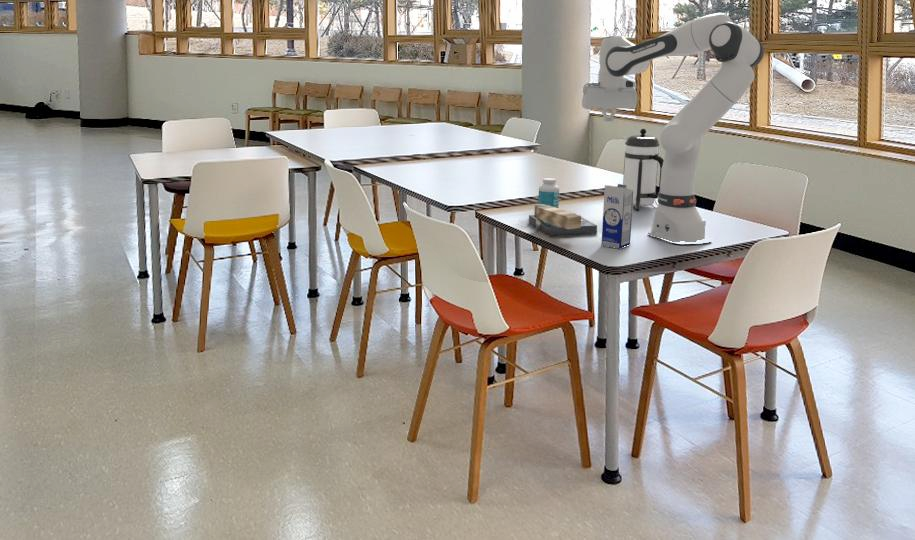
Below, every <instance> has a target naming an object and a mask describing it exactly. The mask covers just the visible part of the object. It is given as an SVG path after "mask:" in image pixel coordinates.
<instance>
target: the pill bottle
mask: <svg viewBox="0 0 915 540" xmlns="http://www.w3.org/2000/svg"><path fill="white" fill-rule="evenodd" d="M556 183H557V179H556V178H552V177H544V178H542V184H540V185H539V186H538V204H544V205H548V206H552V207H555V208H558V209H559V206H560V205H559V204H560V203H559V202H560V187H559V185H557V184H556Z"/></svg>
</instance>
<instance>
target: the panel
mask: <svg viewBox="0 0 915 540" xmlns="http://www.w3.org/2000/svg"><path fill="white" fill-rule="evenodd" d="M573 213H574V214H576V213H575V212H573ZM528 224H529V225H530V226H532V227H534V228H535V231H538V232H541V233H543V234H544V235H545V236H548V237H549V238H552V237H555V238H556V237H569V236H572V237H573V236H587V235H597V234H598V225H597V224H595V223H593V221H589V220H588V219H586V218H584V217H583V216H581V228H575V229H566V228H563V227H560V226H557V225H554V224H551V223H548V222H545V221H543V220H540V219H537V218H535V217H534V214H529V215H528Z"/></svg>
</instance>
